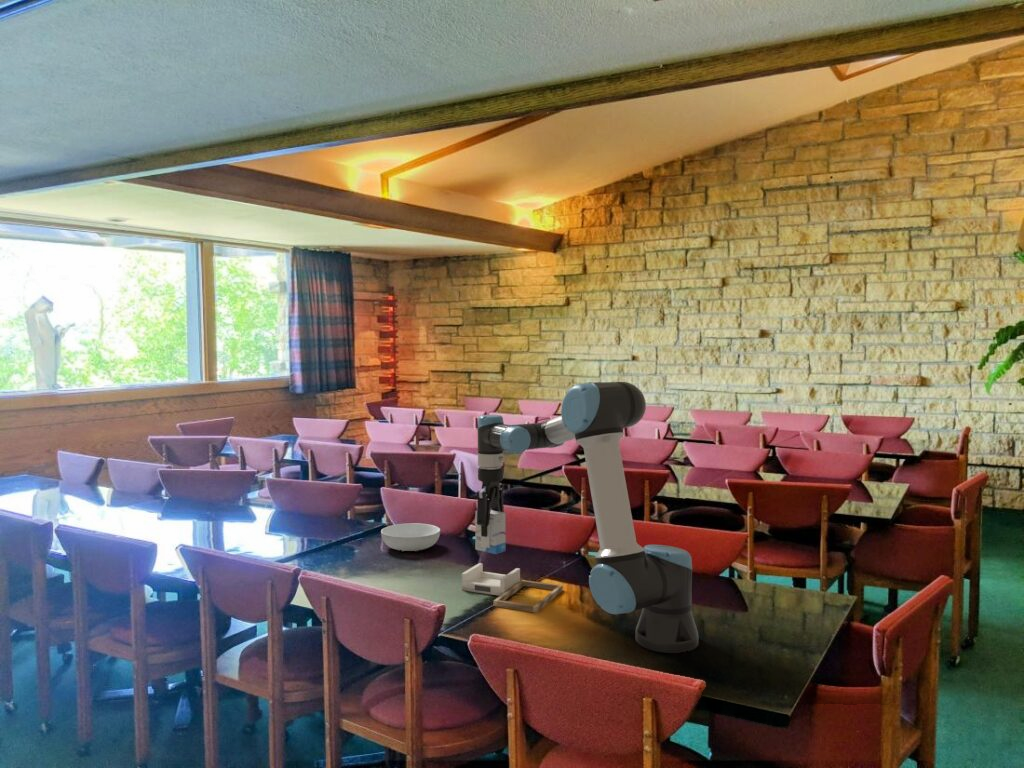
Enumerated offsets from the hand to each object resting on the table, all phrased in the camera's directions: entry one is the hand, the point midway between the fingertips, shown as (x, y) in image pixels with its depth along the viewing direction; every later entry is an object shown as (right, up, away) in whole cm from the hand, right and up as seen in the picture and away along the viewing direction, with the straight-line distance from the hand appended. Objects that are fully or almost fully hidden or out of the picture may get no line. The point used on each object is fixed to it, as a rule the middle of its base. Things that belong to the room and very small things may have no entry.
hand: (490, 543), depth 223 cm
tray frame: (+11, -14, -9) cm, 20 cm away
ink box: (0, -2, 0) cm, 2 cm away
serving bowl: (-30, -11, +44) cm, 54 cm away
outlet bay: (0, -13, +1) cm, 13 cm away
